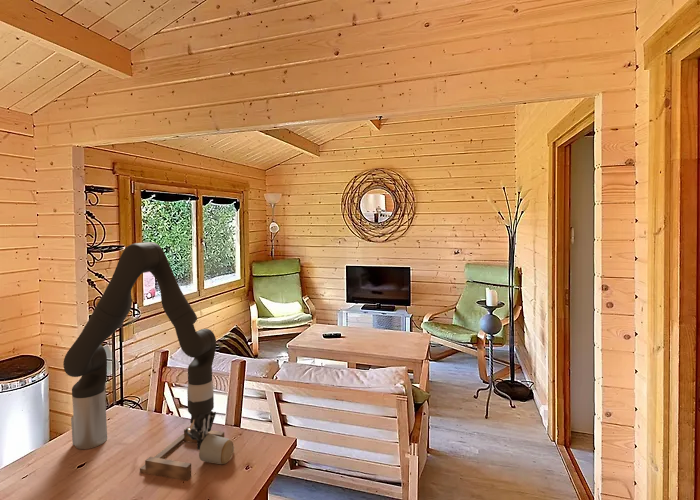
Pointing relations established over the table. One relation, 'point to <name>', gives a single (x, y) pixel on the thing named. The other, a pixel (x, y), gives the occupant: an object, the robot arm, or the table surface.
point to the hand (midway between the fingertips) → (201, 448)
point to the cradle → (171, 467)
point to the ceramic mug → (216, 449)
